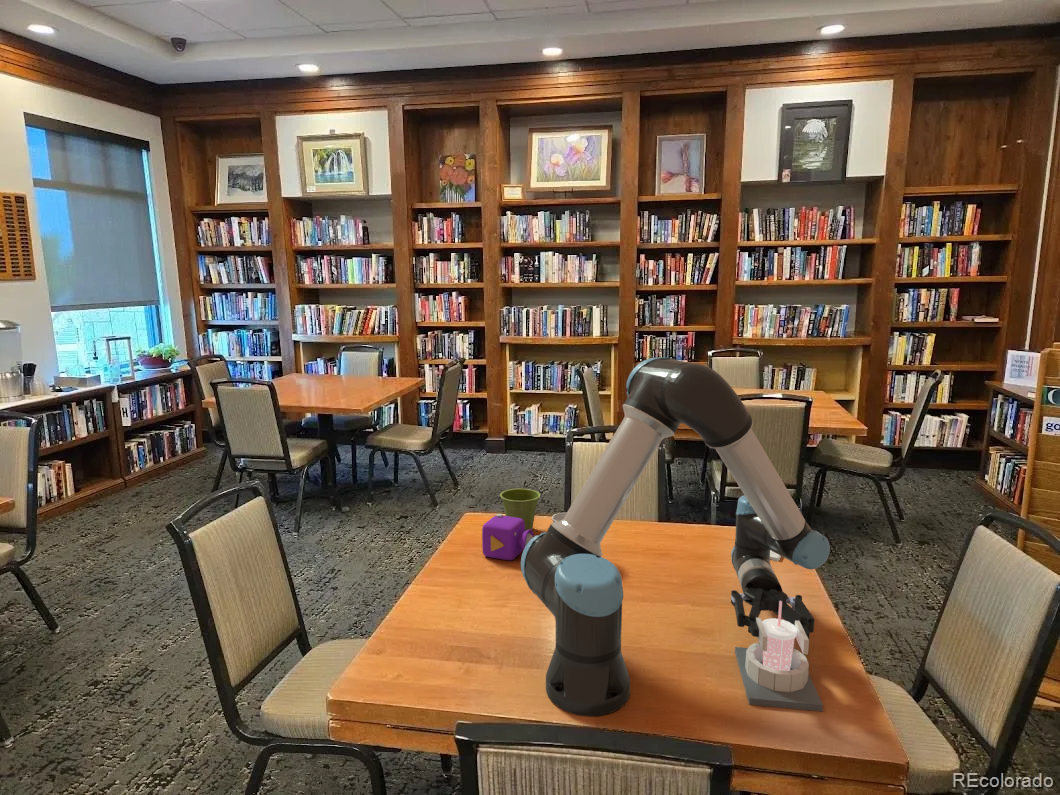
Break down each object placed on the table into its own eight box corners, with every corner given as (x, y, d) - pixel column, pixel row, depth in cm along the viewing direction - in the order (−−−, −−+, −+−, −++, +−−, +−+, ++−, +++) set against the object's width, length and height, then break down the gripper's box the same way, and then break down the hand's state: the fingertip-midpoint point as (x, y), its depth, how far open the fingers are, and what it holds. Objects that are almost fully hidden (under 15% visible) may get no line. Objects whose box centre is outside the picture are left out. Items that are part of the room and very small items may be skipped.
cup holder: (749, 704, 110) (750, 680, 109) (734, 652, 125) (736, 631, 125) (822, 711, 108) (824, 687, 107) (798, 657, 124) (800, 636, 123)
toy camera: (530, 565, 165) (530, 528, 163) (479, 560, 168) (479, 525, 166) (538, 548, 176) (538, 514, 174) (490, 544, 178) (489, 510, 176)
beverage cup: (789, 663, 119) (794, 594, 116) (797, 683, 113) (802, 611, 110) (755, 660, 120) (759, 591, 118) (761, 680, 114) (766, 608, 112)
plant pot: (545, 536, 184) (544, 499, 182) (505, 540, 181) (504, 502, 179) (534, 521, 195) (534, 486, 193) (497, 525, 192) (496, 489, 190)
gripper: (806, 604, 132) (842, 670, 109) (711, 597, 135) (727, 660, 112) (809, 570, 130) (845, 630, 108) (713, 564, 133) (729, 621, 111)
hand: (785, 645), depth 110 cm, fingers closed on beverage cup, 6 cm apart
